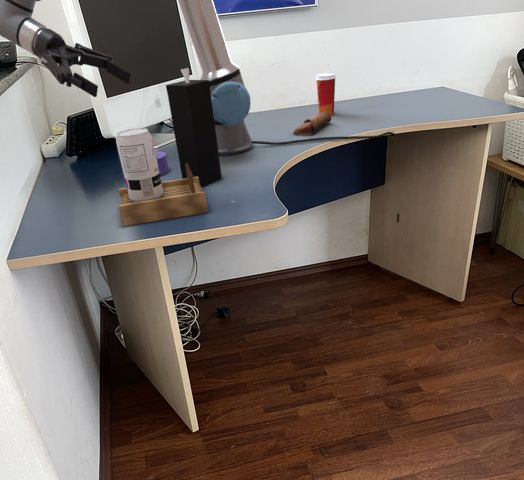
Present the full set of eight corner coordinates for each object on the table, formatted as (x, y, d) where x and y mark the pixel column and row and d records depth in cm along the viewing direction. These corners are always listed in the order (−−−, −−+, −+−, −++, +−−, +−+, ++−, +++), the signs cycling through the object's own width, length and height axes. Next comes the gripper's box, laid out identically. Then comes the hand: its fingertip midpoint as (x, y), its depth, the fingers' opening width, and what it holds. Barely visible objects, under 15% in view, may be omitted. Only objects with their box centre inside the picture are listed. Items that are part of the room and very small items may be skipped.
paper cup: (326, 111, 209) (325, 72, 201) (340, 113, 203) (340, 73, 196) (312, 115, 205) (310, 75, 197) (326, 117, 200) (325, 76, 192)
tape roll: (176, 167, 160) (173, 150, 157) (155, 179, 151) (152, 161, 149) (143, 166, 164) (140, 150, 162) (122, 178, 156) (117, 161, 153)
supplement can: (123, 199, 127) (107, 134, 118) (151, 190, 131) (138, 126, 123) (141, 205, 122) (126, 138, 113) (170, 195, 126) (158, 129, 118)
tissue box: (202, 175, 151) (185, 65, 135) (222, 178, 146) (207, 65, 130) (182, 183, 146) (162, 70, 130) (202, 186, 141) (184, 70, 126)
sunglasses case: (309, 121, 194) (318, 104, 189) (325, 131, 194) (334, 115, 189) (291, 133, 181) (299, 115, 176) (308, 144, 181) (317, 127, 176)
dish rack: (201, 194, 136) (195, 160, 131) (208, 212, 124) (202, 174, 120) (123, 207, 133) (114, 172, 128) (123, 226, 122) (114, 188, 117)
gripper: (74, 48, 145) (139, 87, 144) (7, 68, 127) (80, 112, 126) (76, 19, 139) (143, 59, 138) (6, 36, 122) (82, 82, 121)
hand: (113, 84), depth 132 cm, fingers open, 13 cm apart
